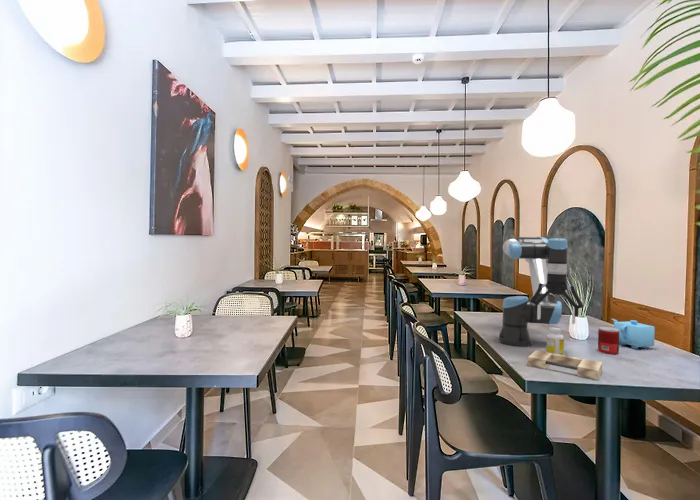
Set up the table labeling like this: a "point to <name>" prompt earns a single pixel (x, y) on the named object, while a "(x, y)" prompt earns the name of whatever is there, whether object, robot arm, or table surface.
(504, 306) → the robot arm
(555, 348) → the supplement bottle
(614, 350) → the canned food
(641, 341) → the teapot
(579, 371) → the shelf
